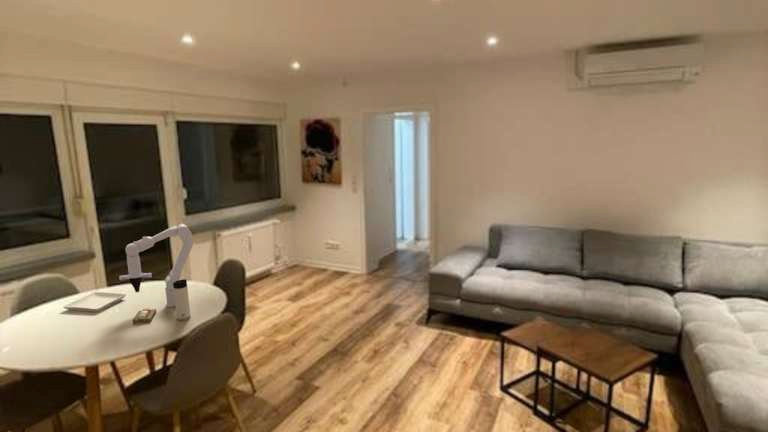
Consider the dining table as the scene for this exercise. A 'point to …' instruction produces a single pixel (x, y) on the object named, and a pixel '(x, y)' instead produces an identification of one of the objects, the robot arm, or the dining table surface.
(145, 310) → the button
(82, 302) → the salad plate
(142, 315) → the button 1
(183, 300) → the travel mug
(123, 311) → the dining table surface
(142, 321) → the panel
